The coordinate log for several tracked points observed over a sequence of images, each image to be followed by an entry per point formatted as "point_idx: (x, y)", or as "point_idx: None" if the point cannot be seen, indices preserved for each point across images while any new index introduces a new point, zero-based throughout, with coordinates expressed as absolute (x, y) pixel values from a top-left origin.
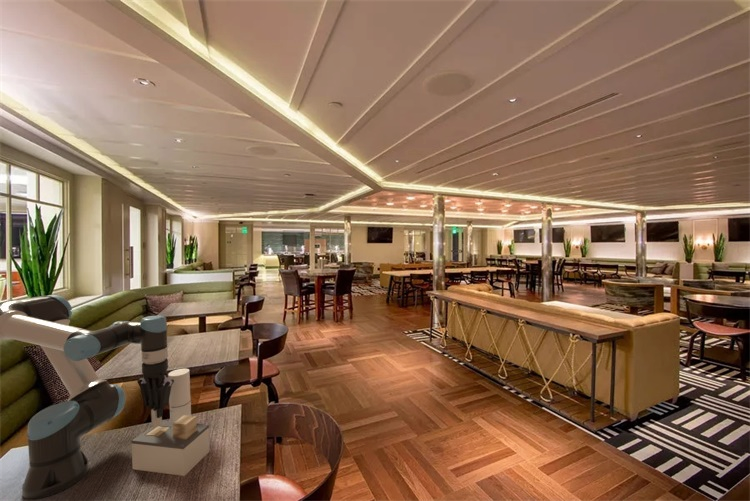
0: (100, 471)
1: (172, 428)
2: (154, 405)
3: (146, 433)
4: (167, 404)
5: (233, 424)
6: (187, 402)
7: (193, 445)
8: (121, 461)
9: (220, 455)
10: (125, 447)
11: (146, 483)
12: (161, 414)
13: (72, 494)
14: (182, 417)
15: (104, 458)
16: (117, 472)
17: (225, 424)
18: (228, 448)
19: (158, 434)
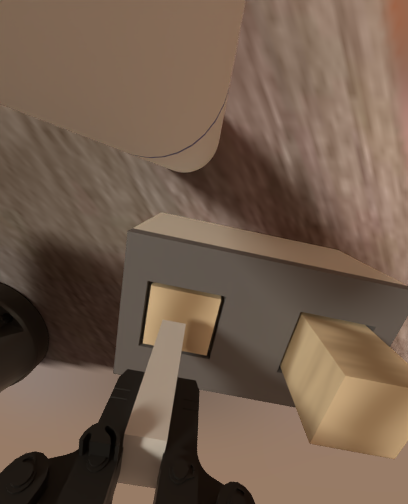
0: (68, 307)
1: (239, 309)
2: (112, 493)
3: (139, 335)
4: (250, 501)
5: (391, 70)
6: (228, 86)
7: None
8: (89, 275)
9: (377, 269)
10: (39, 211)
11: None
12: (194, 402)
13: (77, 366)
14: (346, 399)
15: (25, 259)
16: (116, 314)
17: (352, 68)
18: (397, 238)
19: (201, 346)
